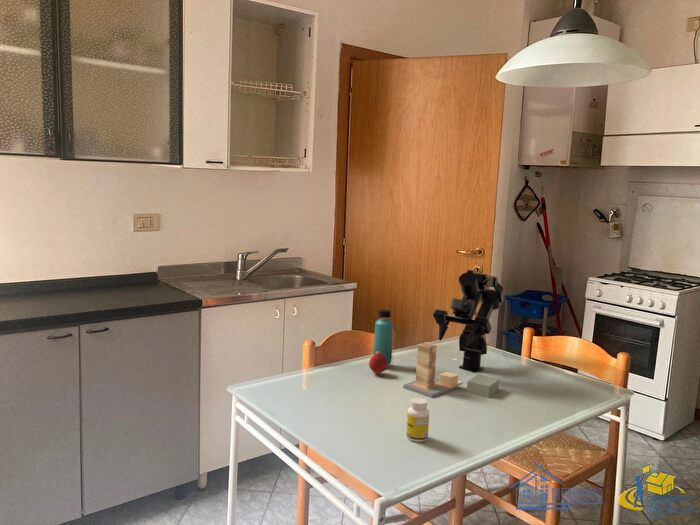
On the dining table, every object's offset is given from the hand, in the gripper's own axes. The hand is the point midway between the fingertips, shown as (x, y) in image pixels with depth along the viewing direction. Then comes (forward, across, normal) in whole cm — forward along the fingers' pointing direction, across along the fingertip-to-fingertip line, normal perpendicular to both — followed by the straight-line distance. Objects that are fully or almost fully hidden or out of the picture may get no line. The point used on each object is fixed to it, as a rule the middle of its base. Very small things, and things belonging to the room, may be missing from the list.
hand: (452, 342), depth 187 cm
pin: (+16, -4, +2) cm, 16 cm away
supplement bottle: (+41, +11, -22) cm, 48 cm away
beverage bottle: (+10, -26, +10) cm, 29 cm away
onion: (+16, -22, +4) cm, 28 cm away
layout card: (+8, -1, +11) cm, 14 cm away
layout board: (+15, -3, +4) cm, 16 cm away
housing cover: (+9, +11, +10) cm, 17 cm away
